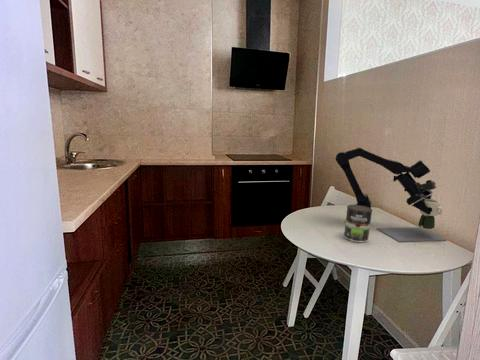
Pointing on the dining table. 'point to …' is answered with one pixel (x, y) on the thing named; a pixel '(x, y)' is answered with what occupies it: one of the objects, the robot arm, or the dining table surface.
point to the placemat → (410, 234)
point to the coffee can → (357, 223)
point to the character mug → (429, 220)
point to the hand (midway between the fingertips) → (432, 212)
